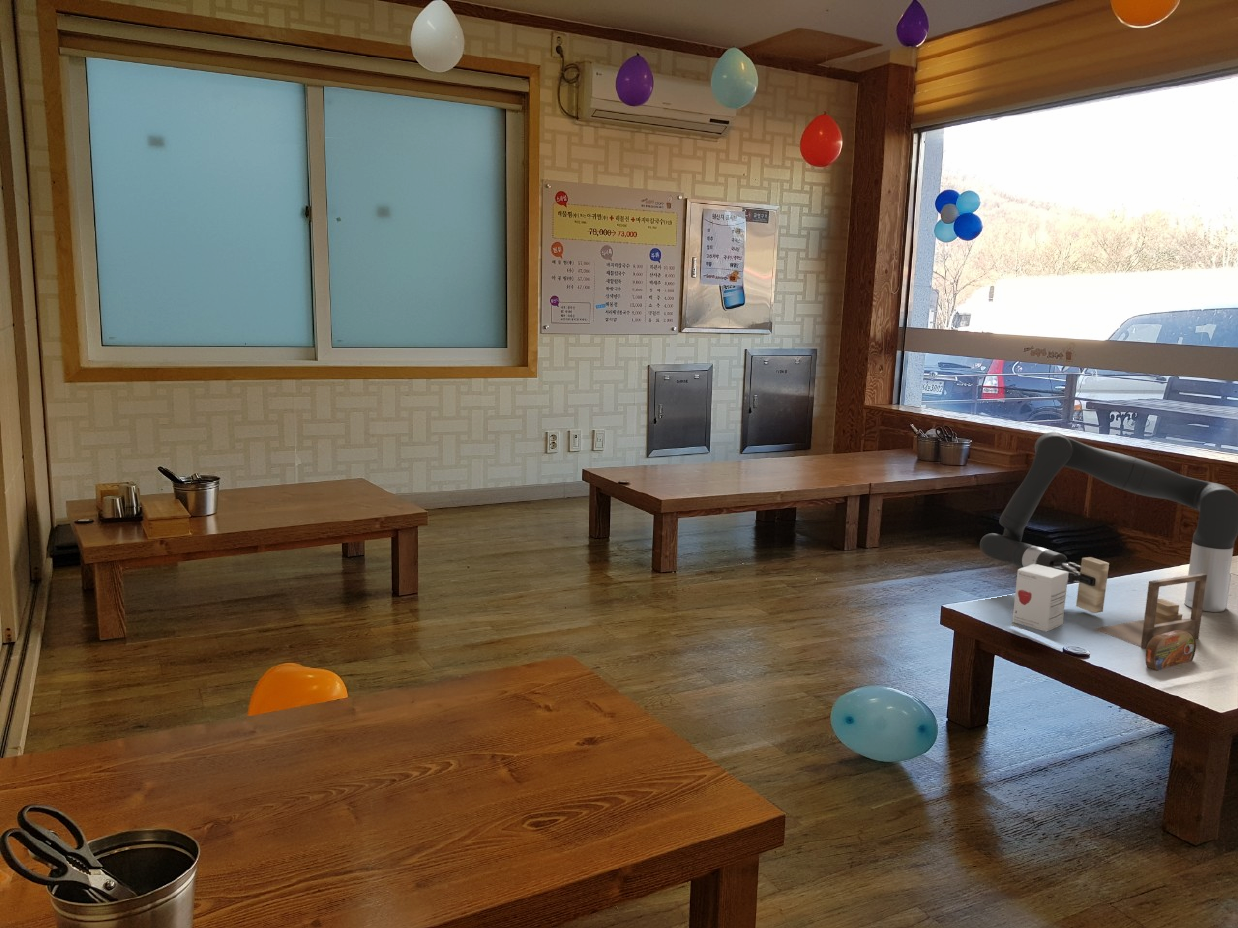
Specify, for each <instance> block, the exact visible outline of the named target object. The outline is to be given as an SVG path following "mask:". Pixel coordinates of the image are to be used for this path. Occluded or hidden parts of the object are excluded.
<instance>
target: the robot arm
mask: <svg viewBox="0 0 1238 928" xmlns="http://www.w3.org/2000/svg"><path fill="white" fill-rule="evenodd" d="M1034 452H1035V455H1034V458H1033V461H1032V463H1031V466H1030V467H1029V471H1028V473H1027V474H1026V476H1025V477H1024V479H1023V481H1022V482H1021V484H1020V485H1019V487H1018V488H1017V489H1016V490H1015V492H1014V493H1013V495H1012V497H1010V500H1009V501H1008V503H1007V504H1006V506H1005V508H1004V510H1003V511H1002V513H1001V515H1000V517H999V519H998V522H999V524H1000V525H1001V526H1002V527H1003V528H1004V529H1003V534H1002V535H1001V534H999V533H994V532H991V533H987V534H985V535H984V536H982V537H981V539H980V541H979V548H980V551H981V552H982V554H983V555H984V556H986V557H988V558H991V559H995V560H996V561H997V560H998V561H1002V562H1005V563H1007V564H1011V565H1014V566H1015V567H1017V568H1019V569H1020V568H1023V567H1027V566H1029V565H1032V564H1038V565H1042V566H1046V567H1051V568H1055V569H1058V570H1063V571H1067V572H1069V574H1068V581H1067V583H1070V584H1072V583H1074V582H1075V583H1078V584H1079V583H1084V584H1087V585H1090V586H1095V581H1096V579H1095V578H1094V577H1091V576H1088V575H1085V574H1082V573H1080V571H1081V565H1079V564H1077V563H1075V562H1071V561H1069V560H1068V558H1067V556H1066V555H1065V554H1063V553H1060V552H1057V551H1053V550H1051V549H1047V548H1045V547H1041V546H1036V545H1032V544H1030V543H1026V542H1022V539H1023V535H1024V530H1025V528H1026V526H1027V525H1028V523H1029V521H1030V519H1031V518H1032V516H1033V514H1034V512H1035V511H1036V508H1037V507H1038V505H1039V503H1040V501H1041V499H1042V497H1043V495H1044V494H1045V492H1046V491H1047V489H1048V487H1049V486H1050V484H1051V483H1052V482H1053V480H1054V478H1055V477H1056V476H1057V474H1058V473H1059V472H1060V471H1061V470H1062V469H1063V467H1065V468H1069V469H1072V470H1076V471H1080V472H1083V473H1085V474H1087V475H1090V476H1091V477H1092V478H1095V479H1097V480H1099V481H1101V482H1103V483H1105V484H1108V485H1110V486H1112V487H1114V488H1115V487H1116V489H1117V488H1118V489H1120V490H1124V491H1125V492H1129V493H1132V494H1136V495H1140V496H1144V497H1148V498H1155V499H1156V498H1157V499H1161V500H1168V501H1173V502H1176V503H1179V504H1181V505H1183V506H1185V507H1189V508H1191V509H1193V510H1195V511H1198V512H1199V515H1198V520H1197V527H1196V529H1195V531H1194V533H1193V536H1192V542H1191V543H1192V544H1191V550H1190V558H1189V565H1188V566H1189V567H1188V571H1187V572H1188V573H1187V576H1188V575H1194V574H1201V573H1203V574H1206V575H1207V579H1206V587H1205V594H1204V601H1203V609H1202V612H1203V611H1204V612H1209V613H1210V612H1213V613H1214V612H1215V613H1219V612H1220V613H1221V612H1224V611H1225V610H1226V609H1227V608H1228V600H1229V594H1230V586H1231V581H1232V574H1231V568H1232V561H1233V560H1232V559H1233V554H1234V547H1235V542H1236V541H1237V538H1238V493H1237V492H1236V491H1234V490H1233V489H1231V488H1230V487H1229V486H1227V485H1224V484H1221V483H1216V482H1211V481H1208V480H1207V481H1206V480H1203V479H1198V478H1193V477H1190V476H1185V475H1182V474H1179V473H1177V472H1175V471H1172V470H1170V469H1168V468H1165V467H1164V466H1161V465H1159V464H1155V463H1152V462H1149V461H1148V460H1147V461H1146V460H1144V459H1140V458H1137V457H1135V456H1131V455H1126V454H1123V453H1121V452H1120V453H1119V452H1115V451H1112V450H1106V449H1104V448H1103V449H1101V448H1097V447H1093V446H1090V445H1088V444H1086V443H1083V442H1080V441H1078V440H1075V439H1073V438H1070V437H1068V436H1066V435H1065V434H1062V433H1060V432H1055V431H1054V432H1053V431H1051V432H1047V433H1044V434H1042V435H1040V436H1039V437H1038V438H1037V439H1036V441H1035V443H1034ZM1194 589H1195V581H1194V582H1188V583H1186V588H1185V594H1184V595H1185V596H1184V605H1185V606H1187V607H1189V608H1191V609H1192V604H1193V596H1194Z"/></svg>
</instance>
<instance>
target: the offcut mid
mask: <svg viewBox="0 0 1238 928" xmlns="http://www.w3.org/2000/svg"><path fill="white" fill-rule="evenodd" d="M1179 620H1183V614H1182V613H1180V612H1178V615H1170V616H1166V615H1164V614H1161V613H1158V612H1156V617H1155V622H1158V623H1167V622H1173V621H1179Z"/></svg>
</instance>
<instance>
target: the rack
mask: <svg viewBox="0 0 1238 928" xmlns="http://www.w3.org/2000/svg"><path fill="white" fill-rule="evenodd" d="M1206 579H1207V575H1206V574H1203V573H1201V574H1194V575H1188V574H1187V575H1181V576H1176V577H1169V578H1161V579H1155V580H1149V581H1148V584H1147V585H1148V587H1147V595H1146V602H1145V611H1144V619H1142V620H1137V621H1130V622H1124V623H1118V624H1113V625H1108V626H1100V627H1095V628H1093V629H1094V630H1096V631H1099V632H1101V633H1104V634H1106V635H1109V636H1112V637H1114V638H1117V639H1119V640H1120V641H1124V642H1127V643H1129V644H1132V645H1134V646H1137V647H1140V648H1142V649H1144V650H1146V648H1147V645H1148V643H1149V641H1150V640H1151V639H1152V638H1153V637H1154V636H1156V635H1160V634H1164V633H1167V632H1171V631H1174V630H1181V631H1185V632H1190V633H1192V634H1193V635H1194V637H1195V640H1196V641H1197V640H1199V637H1200V630H1201V624H1202V617H1203V616H1202V615H1203V610H1202V609H1203V601H1204V594H1205V587H1206ZM1194 581H1195V589H1194V596H1193V604H1192V608H1191V611H1190V612H1191V613H1190V618H1185V619H1182V620H1179V621H1173V622H1167V623H1161V624H1156V625H1155V617H1156V609H1157V601H1158V599H1159V593H1160V592H1159V591H1160V588H1161V587H1167V586H1172V585H1178V584H1179V585H1180V584H1187V583H1188V582H1194Z"/></svg>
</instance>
